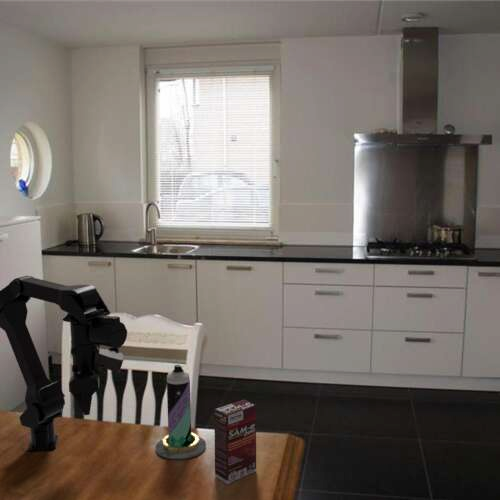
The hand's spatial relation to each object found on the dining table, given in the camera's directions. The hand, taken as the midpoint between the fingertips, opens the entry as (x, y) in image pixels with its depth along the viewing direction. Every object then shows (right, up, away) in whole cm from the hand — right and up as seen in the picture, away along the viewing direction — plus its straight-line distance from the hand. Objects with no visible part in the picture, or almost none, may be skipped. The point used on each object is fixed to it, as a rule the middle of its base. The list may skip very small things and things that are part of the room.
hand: (88, 406), depth 145 cm
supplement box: (+34, -14, -5) cm, 37 cm away
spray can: (+20, -11, +7) cm, 24 cm away
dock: (+21, -12, +7) cm, 25 cm away
